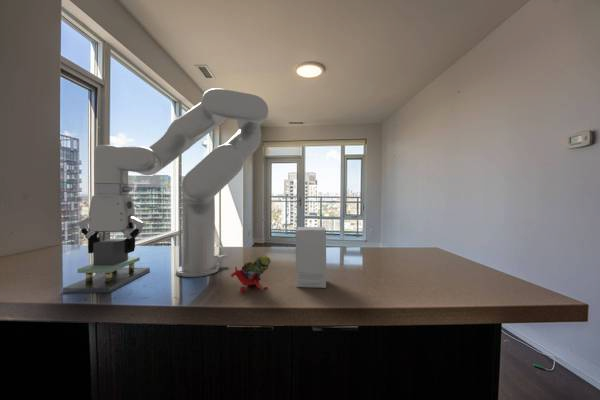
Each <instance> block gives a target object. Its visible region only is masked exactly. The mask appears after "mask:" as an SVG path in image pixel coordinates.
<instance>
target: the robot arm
mask: <svg viewBox="0 0 600 400" xmlns="http://www.w3.org/2000/svg"><path fill="white" fill-rule="evenodd" d="M268 116H269V106H268V104H267V102H266V101H265V100H264V99H263V98H262V97H260V96H258V95H256V94H251V93H247V92H246V93H245V92H241V91H237V90H236V91H235V90H230V89H225V88H210V89H208V90H206V91H205V92H204V93H203V95H202V97H201V102H199V103H198V104H196V105H194V106H193V107H192V108H190V109H189V110H187V111H186V112H185V113H183V114H181V115H180V116H178V117H177V118H176V119H174V120H173V121H172V122H171V123H170V125H169V127H168V128H167V130H166V132H165V133H164V135H162V137H160V138H159V139H158V140H157V141H155V142H154V143H153V144H151V145H150V146H148V147H147V146H140V145H137V146H136V145H135V146H134V145H133V146H119V145H110V144H98V145H96V146H95V148H94V149H93V150H94V151H93V176H94V177H93V178H94V179H93V182H94V183H93V184H94V185H93V191H94V193H93V195H92V196H91V199H90V203H89V204H90V205H89V211H88V217H87V218H86V217H85V219H82V220H80V221H79V222H77V225H78V226H79V228H80V232H81V233H82V234H83V235H84V238H85V239H87V253H88V254H93V243H96V242H100V241H101V238H100V236H99V235H100V234H101V233H122V235H124V237H126V238H125V253H128V254H129V253H133V252H135V248H136V238H137V237H138V235H139V234H140V233H141V232H142V230H143V229H144V226H145V221H143V220H141V219H139V218H137V217H136V211H135V206H134V205H135V204H134V200H133V198H132V195H129V193H130V192H131V193H132V192H133V187H131V186H130V185H129V172H132V173H136V174H140V175H144V176H153V175H156V174H157V173H159V172H161V170H162V169H164V168H166V167H167V166H168V165H170V164H171V163H172V162H174V161H175V160H176V159H177V158H179V157H180V156H181V155H183V153H186V151H188V150H189V149H191V148H192V147H193V146H194V145H195V144H196V143H198V142H199V141H201V139H203V138H205V137H206V136H207V135H208V134H210V133H211V132H212V131H214V130H215V129H217V128H218V127H219V126H221V125H222V124H224V122H225V121H226V120H227V119H229V120H234V121H235V120H236V124H237V132H236V133H235V134H234V135H233V136H231V137H230V139H229V140H228V141H226V142H225V143H224V144H221V145H218V146H216V147H215V148H214V149H213V150H211V151H210V153H208V154H207V155H206V156H205V157H204V158H203V159H201V161H200V162H198V163H197V164H196V165H195V166H194V167H193V168H192V169H190V170H189V171H188V172H187V173H186V174H185V176H184V177H183V179H182V182H181V197H182V198H181V199H182V201H181V203H182V205H181V207H182V209H181V212H182V213H181V214H182V216H181V217H182V219H181V266H179V267H177V268H176V271H175V272H176V275H178V276H179V277H184V278H198V277H204V276H205V277H206V276H210V275H212V274H215V273H217V272H218V271H219V270H220V264H218V263H220V262H223V261H228V255H227V254H221V255H220V254H215V228H216V227H215V223H216V222H215V221H216V219H215V217H216V214H215V213H216V212H215V211H216V210H215V207H216V206H215V205H216V204H215V196H216V195H218V194H219V193H220V191H222V190H223V189H224V188H225V187H226V186H227V185H228V184H229V183H230V182H231V181H232V180H233V179H234V178H235V177H236V176H237V175H239V173H240V172H241V170H242V169H243V167H244V163H246V161H248V159H249V158H250V157H251V156H252V155H253V154H254V153H255V152H256V151H257V150H258V148H259V146H260V145H261V141H262V130H261V125H262V124H263V123H265V121H266V119H267V118H268Z"/></svg>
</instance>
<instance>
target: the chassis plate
mask: <svg viewBox="0 0 600 400" xmlns="http://www.w3.org/2000/svg"><path fill="white" fill-rule="evenodd" d="M150 269H151V268H150V267H135V263H132V264H130V265H128V267H123V268H121V269H118V270H116V271H113V272H111V273H96V274H94V273H85V279H82V280H80V281H76V282H75V283H72V284H70V285H68V286H67V285H66V286H65V287H62V293H63V294H110V293H112V292H113V291H116V290H117V289H119V288H122V287H123V286H125V285H127V284H129V283H130V282H133V281H134V280H136V279H138V278H140V277H142V276H144V275H146V274H148V273H149V272H151V270H150ZM109 292H110V293H109Z"/></svg>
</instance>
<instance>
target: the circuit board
mask: <svg viewBox="0 0 600 400" xmlns="http://www.w3.org/2000/svg"><path fill="white" fill-rule="evenodd" d="M125 239H126V238H125ZM125 239H124V238H109V239H105V240H102V241H101V240H100V242H96V243H93V253H92V254H93V255H92V256H93V261H92V262H93V263H91V264H88V265H85V266H82V267H79V268H78V269H77V273H78V274H86V273H93V274H99V273H111V272H113V271H116V270H118V269H121V268H126V267H127V266H128V267H129V265H130V264H132V263H134V264H135V263H137V262H140V256H133V257H132V256H129V253H125Z"/></svg>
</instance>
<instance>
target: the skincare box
mask: <svg viewBox="0 0 600 400" xmlns="http://www.w3.org/2000/svg"><path fill="white" fill-rule="evenodd" d="M326 230H327V229H326V227H325V226H311V227H310V226H298V227H297V228H296V229H295V230H294V232H295V286H296V288H317V289H318V288H322V289H325V288H327V233H326V232H327V231H326Z"/></svg>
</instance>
